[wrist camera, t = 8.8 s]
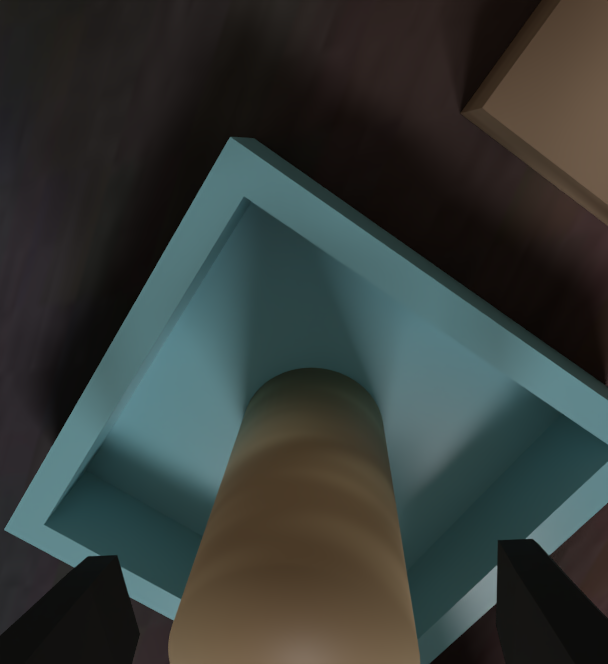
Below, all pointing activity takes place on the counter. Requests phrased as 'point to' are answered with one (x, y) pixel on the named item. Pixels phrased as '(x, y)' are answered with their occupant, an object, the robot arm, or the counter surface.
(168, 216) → the counter surface
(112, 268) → the counter surface
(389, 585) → the dowel
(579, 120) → the socket block
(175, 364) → the tray
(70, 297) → the counter surface
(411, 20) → the counter surface
